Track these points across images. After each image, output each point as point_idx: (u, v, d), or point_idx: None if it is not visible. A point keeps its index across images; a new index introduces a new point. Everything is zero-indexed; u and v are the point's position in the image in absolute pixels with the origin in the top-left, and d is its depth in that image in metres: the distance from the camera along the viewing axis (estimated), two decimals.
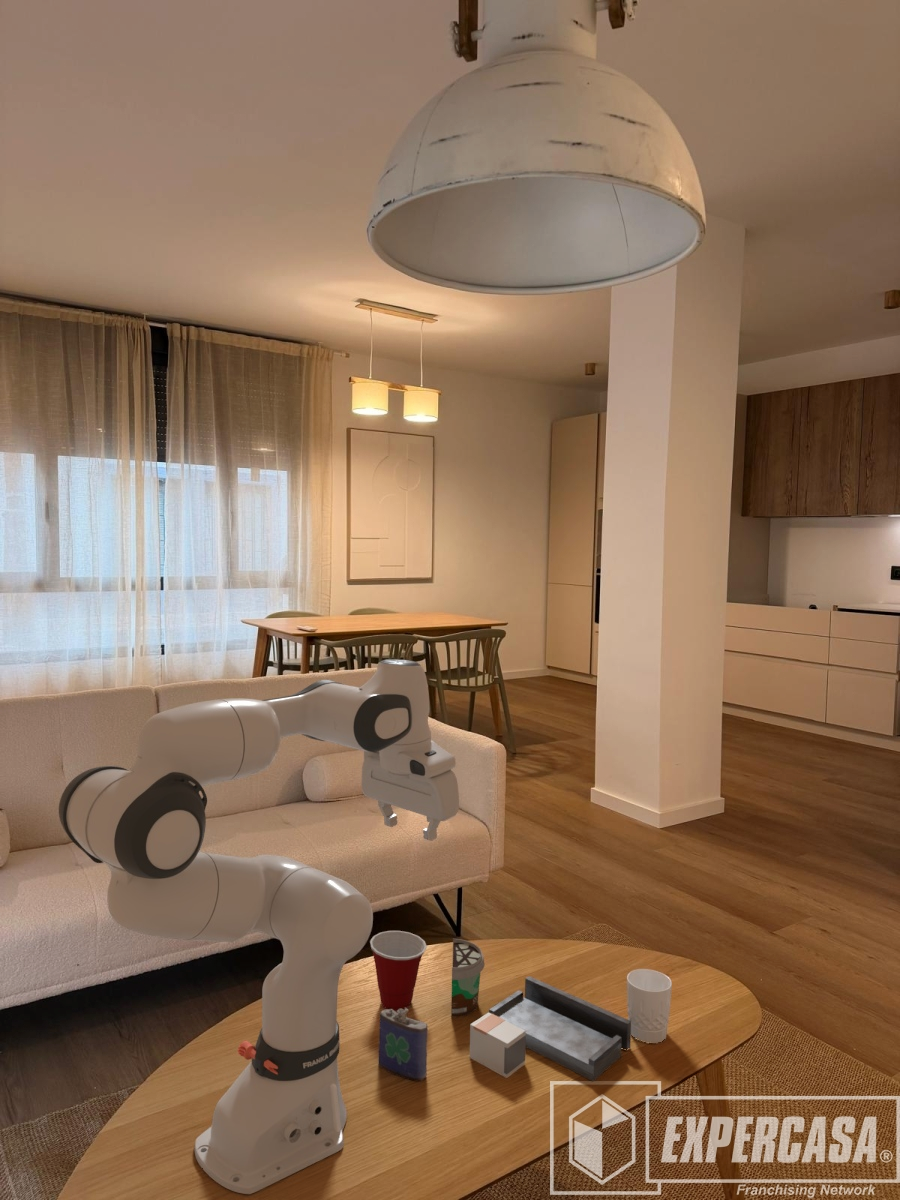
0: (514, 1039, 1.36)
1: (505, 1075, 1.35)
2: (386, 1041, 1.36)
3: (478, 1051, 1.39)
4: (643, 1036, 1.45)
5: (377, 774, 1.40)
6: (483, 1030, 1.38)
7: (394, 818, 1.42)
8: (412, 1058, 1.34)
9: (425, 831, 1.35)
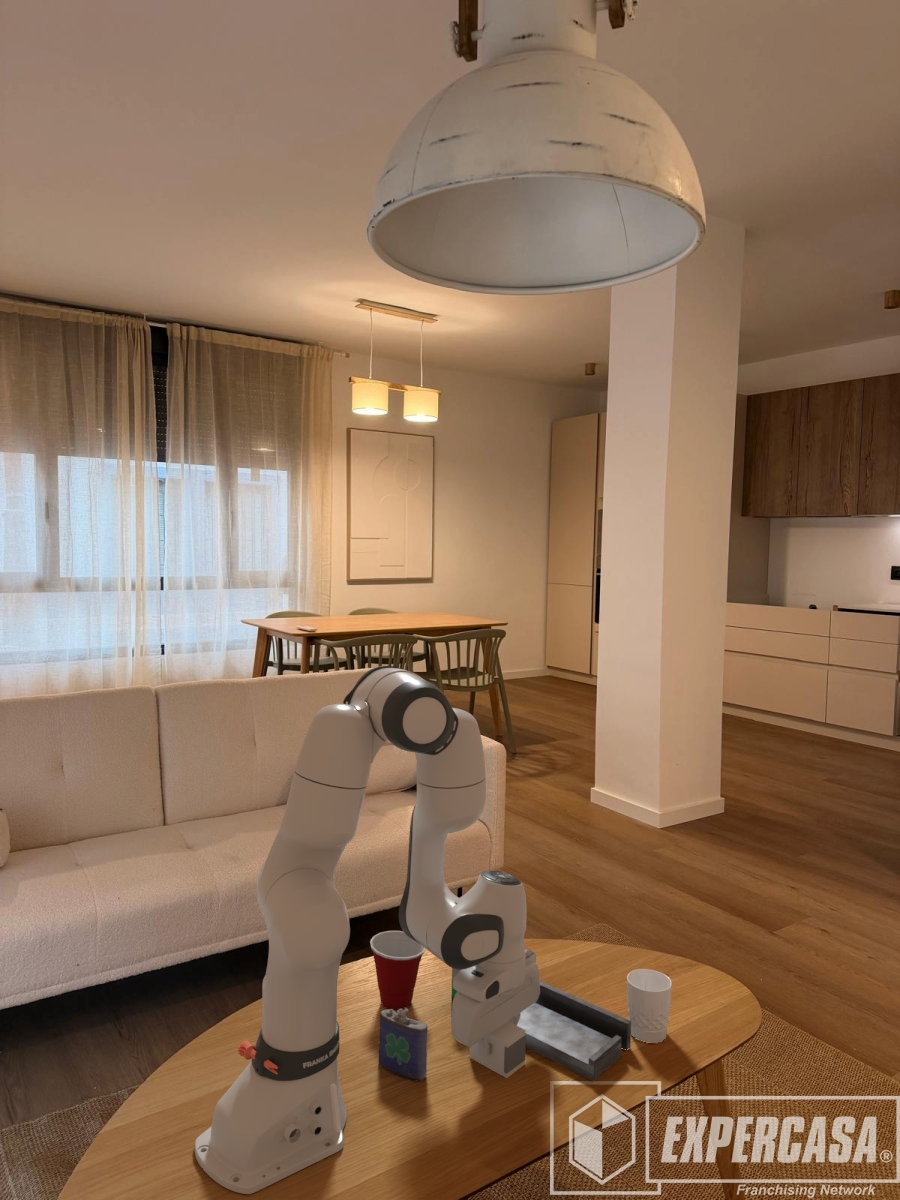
0: (514, 1039, 1.36)
1: (505, 1074, 1.35)
2: (386, 1041, 1.36)
3: (478, 1051, 1.39)
4: (643, 1036, 1.45)
5: None
6: None
7: None
8: (412, 1058, 1.34)
9: None
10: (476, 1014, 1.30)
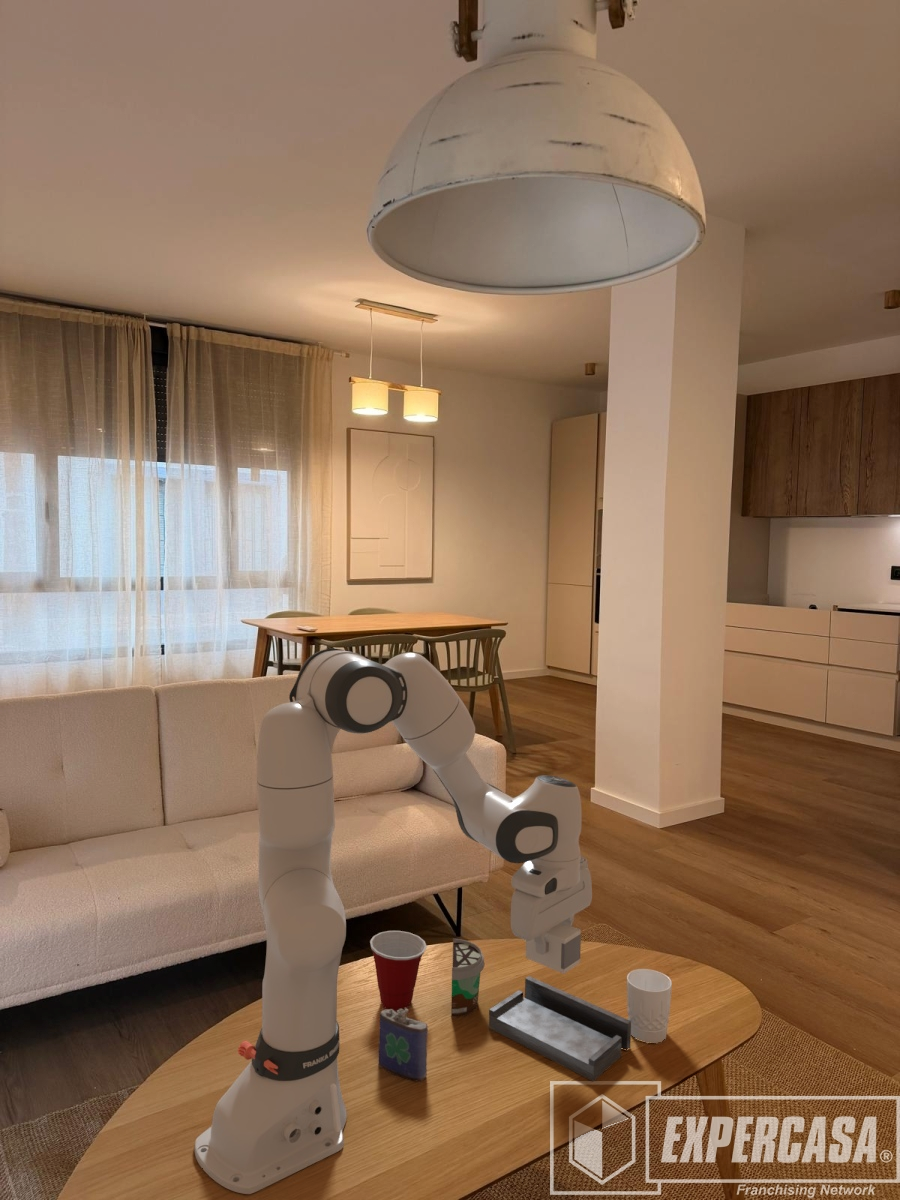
0: (570, 936, 1.40)
1: (562, 970, 1.39)
2: (386, 1041, 1.36)
3: (534, 950, 1.43)
4: (643, 1036, 1.45)
5: None
6: None
7: None
8: (412, 1058, 1.34)
9: None
10: (535, 909, 1.34)
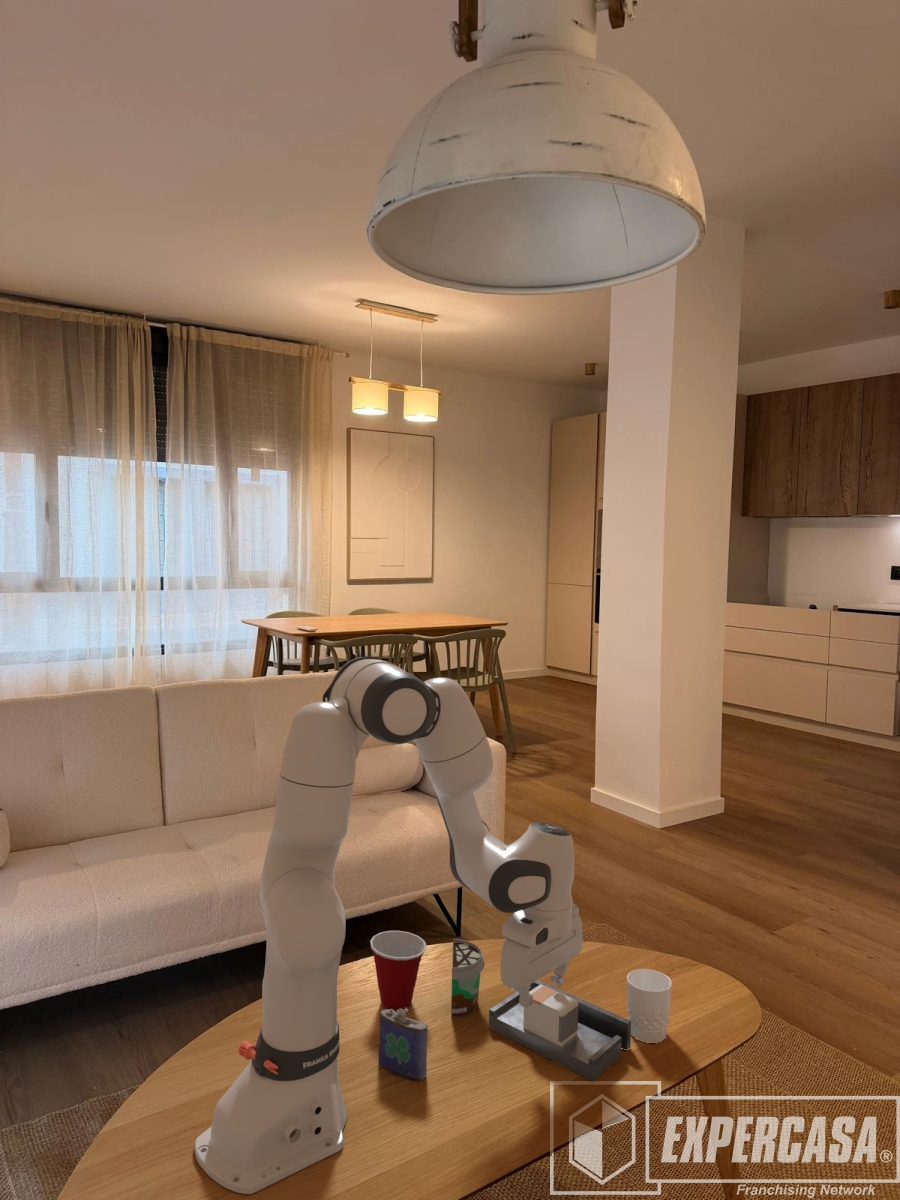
0: (567, 1009, 1.40)
1: (559, 1043, 1.40)
2: (386, 1041, 1.36)
3: (532, 1021, 1.43)
4: (643, 1036, 1.45)
5: None
6: (537, 1000, 1.43)
7: (556, 979, 1.45)
8: (412, 1058, 1.34)
9: None
10: (526, 959, 1.33)
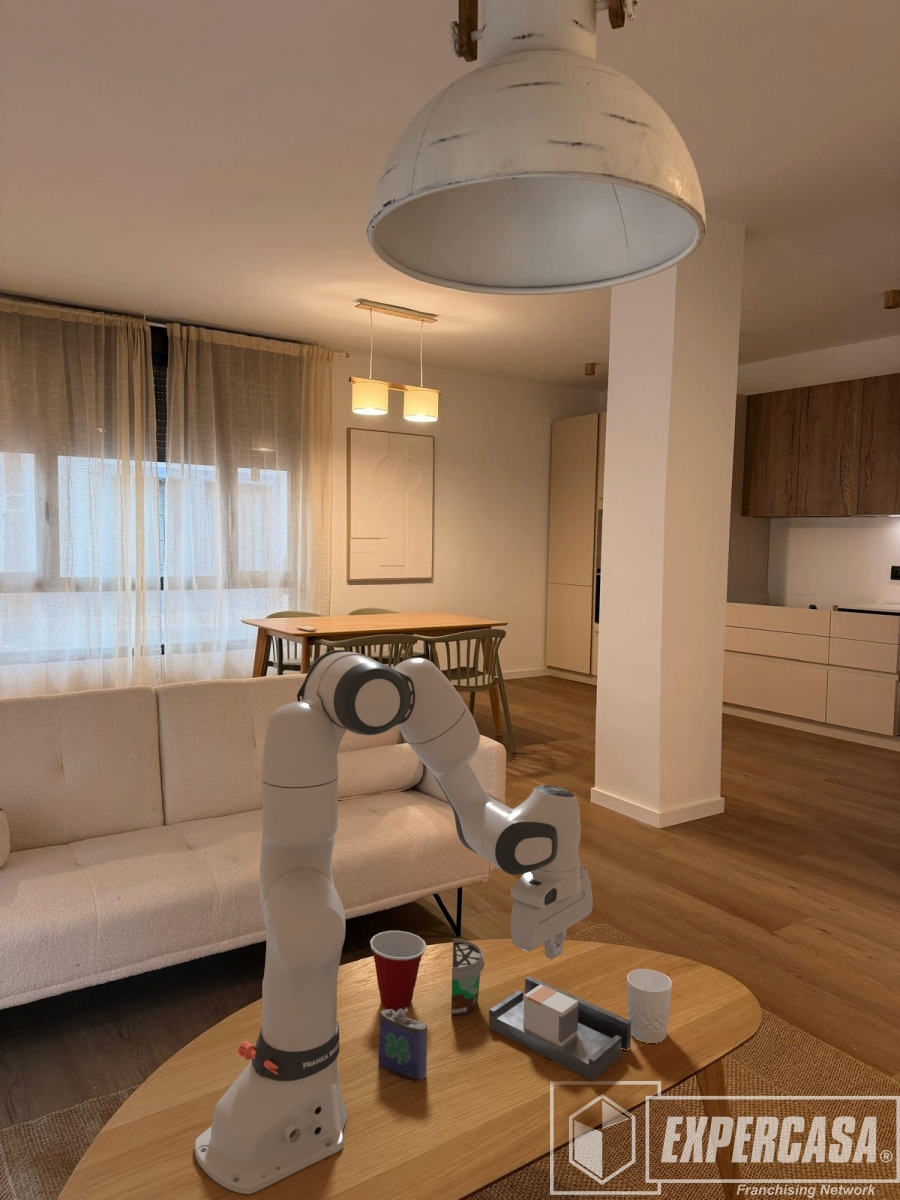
0: (567, 1009, 1.40)
1: (559, 1043, 1.40)
2: (386, 1041, 1.36)
3: (532, 1021, 1.43)
4: (643, 1036, 1.45)
5: None
6: (537, 1000, 1.43)
7: None
8: (412, 1058, 1.34)
9: None
10: (535, 919, 1.34)
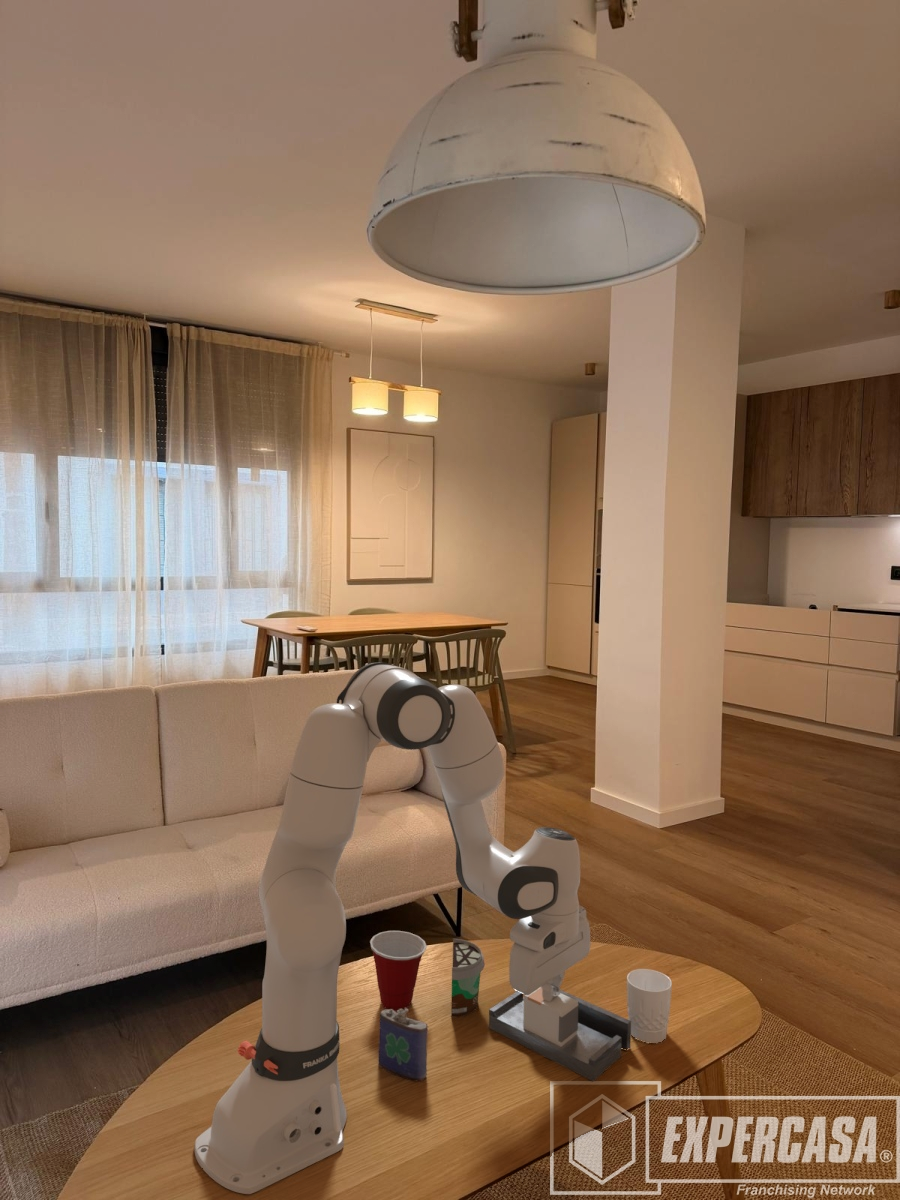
0: (567, 1009, 1.40)
1: (559, 1043, 1.40)
2: (386, 1041, 1.36)
3: (532, 1021, 1.43)
4: (643, 1036, 1.45)
5: None
6: (537, 1000, 1.43)
7: None
8: (412, 1058, 1.34)
9: None
10: (534, 963, 1.35)
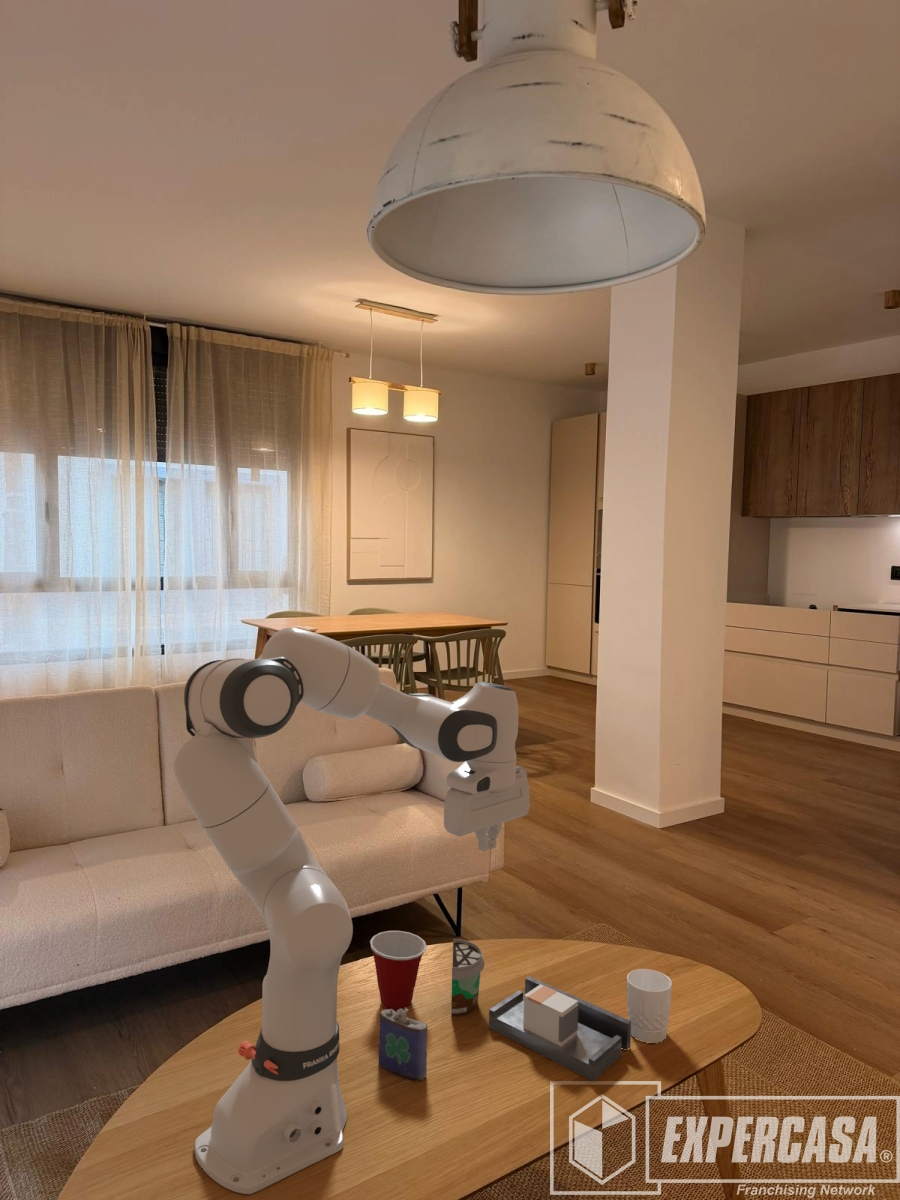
0: (567, 1009, 1.40)
1: (559, 1043, 1.40)
2: (386, 1041, 1.36)
3: (532, 1021, 1.43)
4: (643, 1036, 1.45)
5: None
6: (537, 1000, 1.43)
7: None
8: (412, 1058, 1.34)
9: None
10: (467, 804, 1.38)
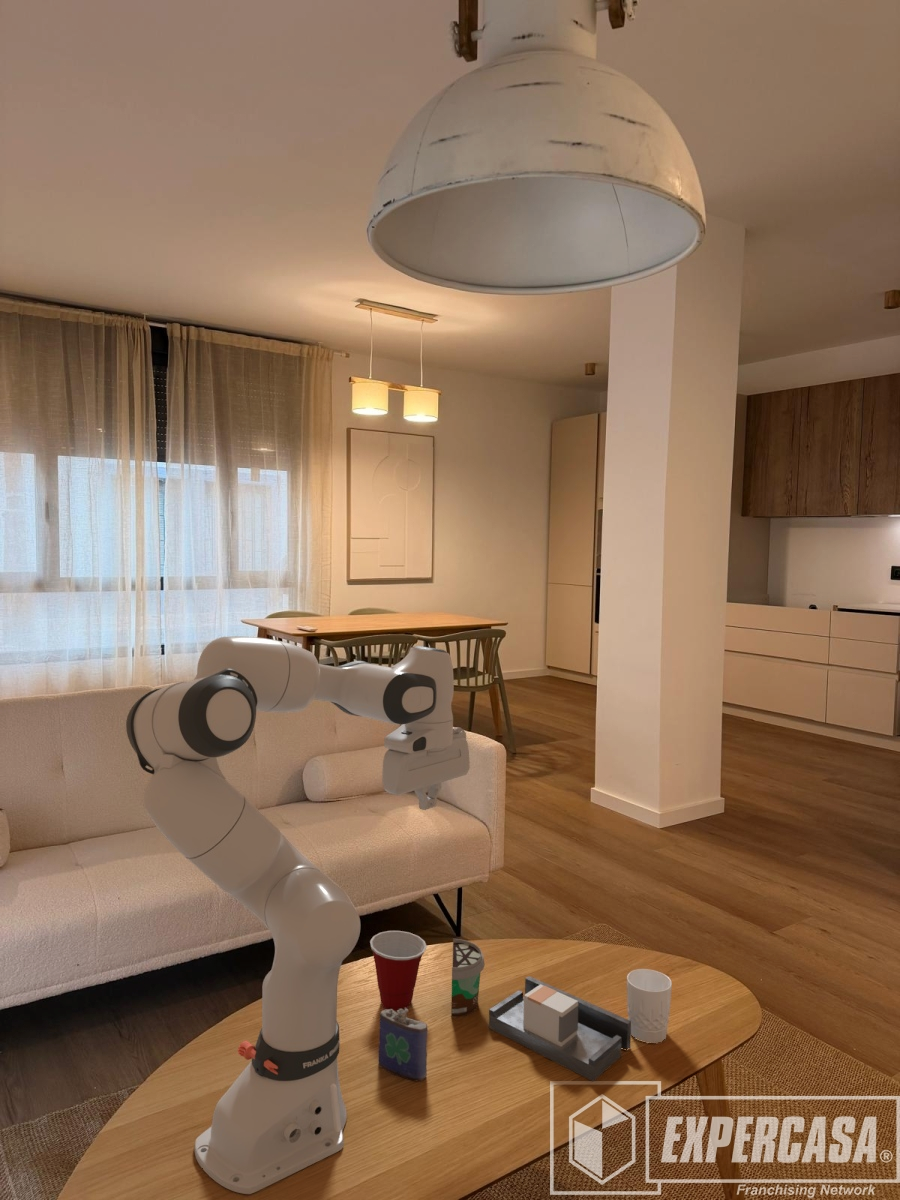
0: (567, 1009, 1.40)
1: (559, 1043, 1.40)
2: (386, 1041, 1.36)
3: (532, 1021, 1.43)
4: (643, 1036, 1.45)
5: None
6: (537, 1000, 1.43)
7: None
8: (412, 1058, 1.34)
9: None
10: (404, 764, 1.42)
